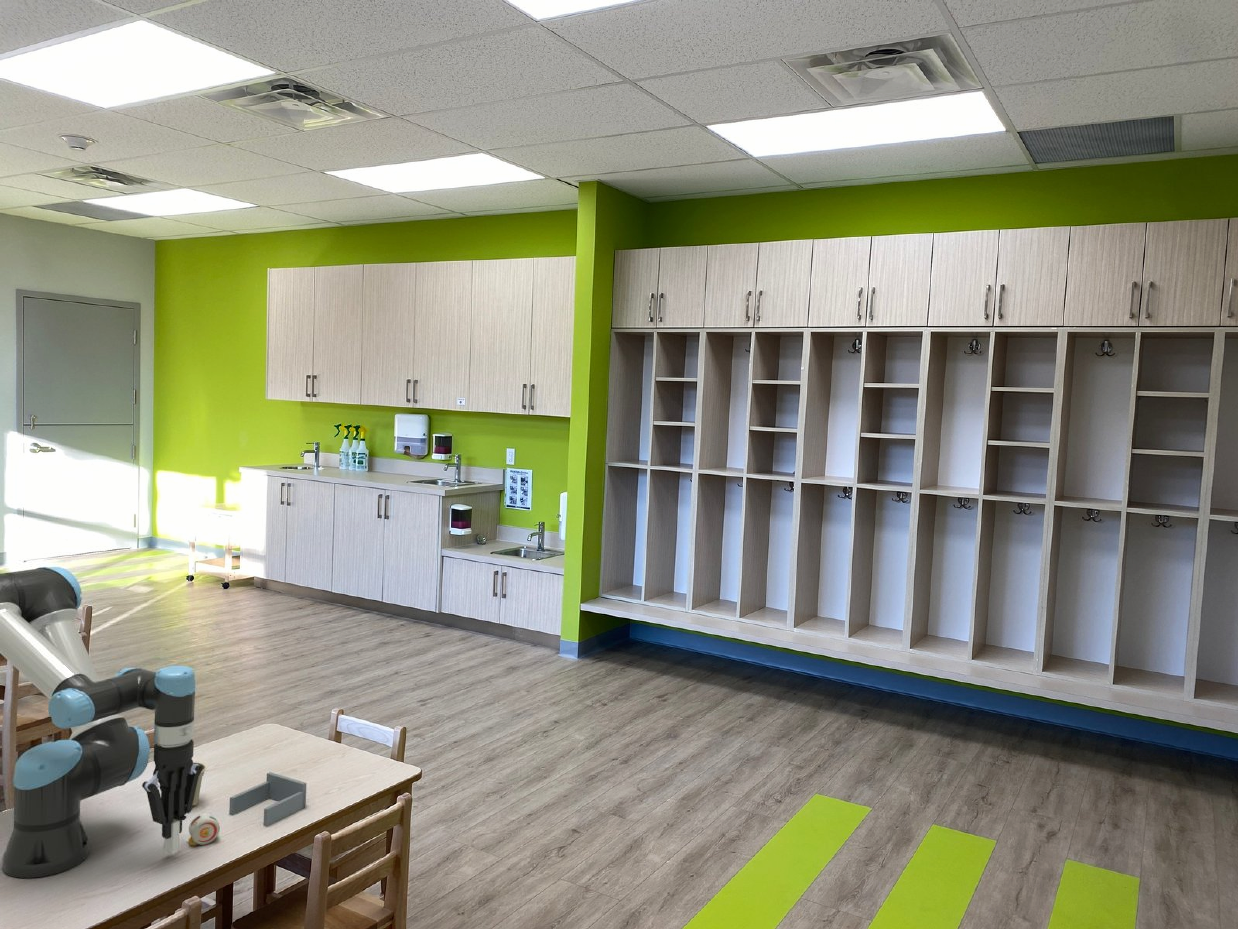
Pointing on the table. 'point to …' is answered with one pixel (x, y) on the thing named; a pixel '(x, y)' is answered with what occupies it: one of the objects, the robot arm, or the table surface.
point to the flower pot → (198, 783)
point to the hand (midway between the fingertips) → (171, 850)
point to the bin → (272, 797)
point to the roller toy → (203, 829)
